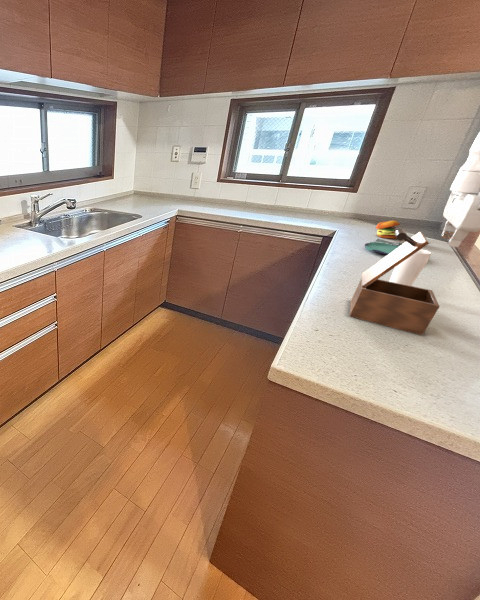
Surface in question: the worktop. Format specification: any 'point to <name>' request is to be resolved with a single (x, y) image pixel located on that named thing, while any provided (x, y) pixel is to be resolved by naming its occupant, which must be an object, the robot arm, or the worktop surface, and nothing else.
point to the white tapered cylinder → (410, 268)
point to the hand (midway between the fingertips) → (448, 242)
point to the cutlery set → (382, 246)
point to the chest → (394, 305)
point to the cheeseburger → (387, 229)
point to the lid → (395, 256)
